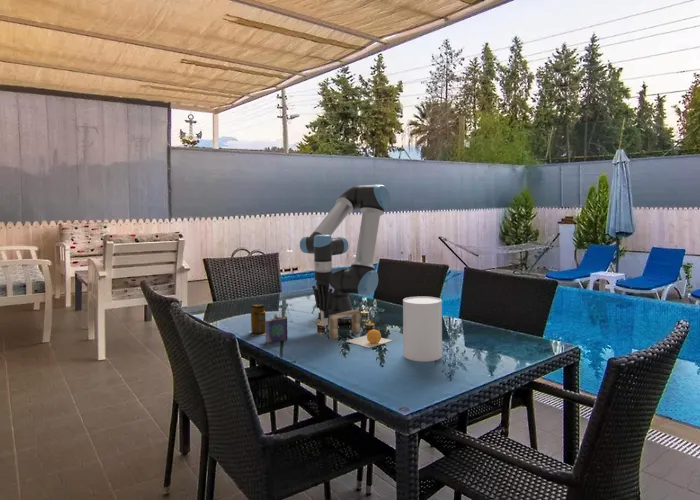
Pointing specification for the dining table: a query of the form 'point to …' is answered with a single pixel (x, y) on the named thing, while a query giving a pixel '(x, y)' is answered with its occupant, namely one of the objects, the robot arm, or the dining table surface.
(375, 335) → the ball
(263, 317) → the condiment
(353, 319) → the bridge
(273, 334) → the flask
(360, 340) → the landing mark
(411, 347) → the canister
